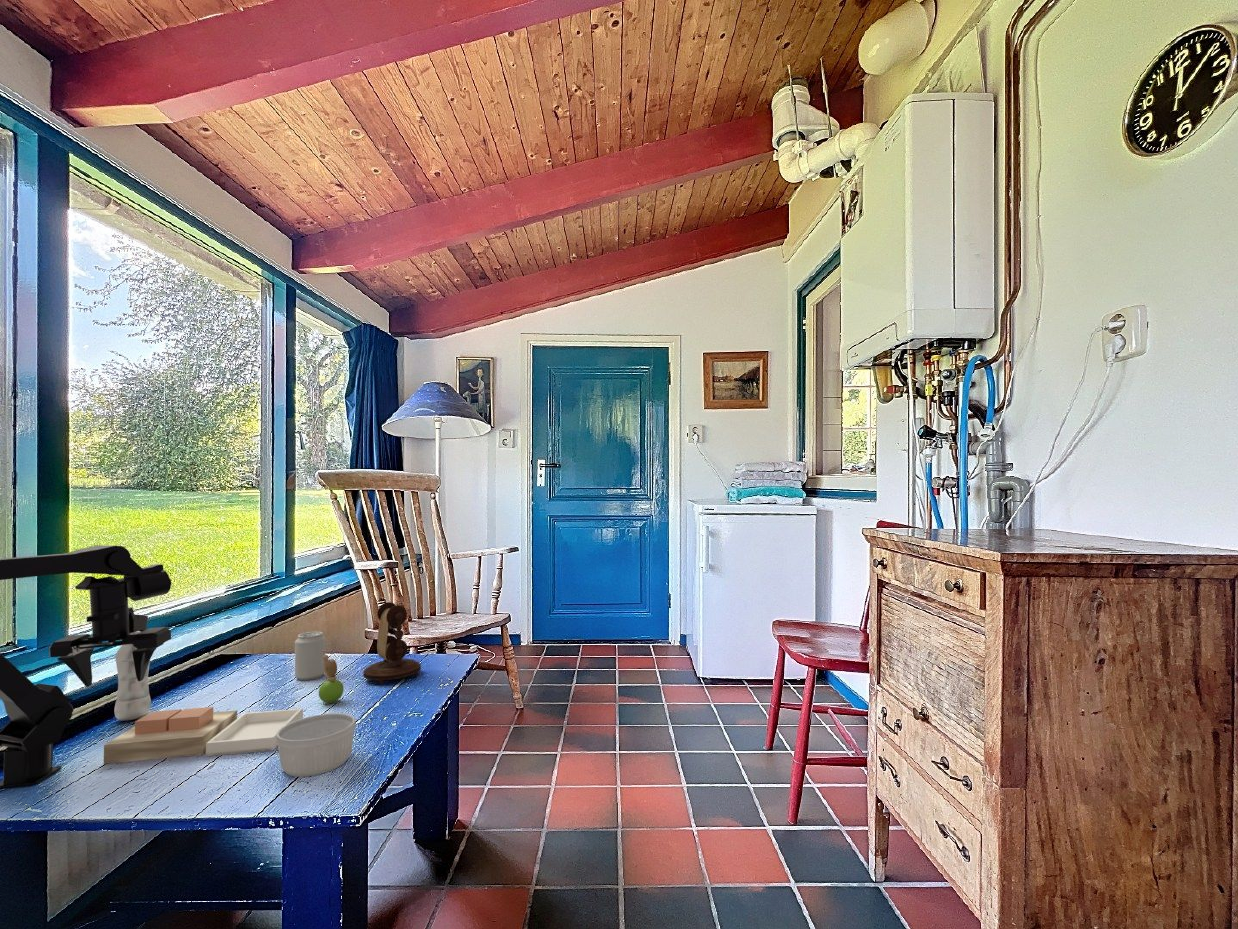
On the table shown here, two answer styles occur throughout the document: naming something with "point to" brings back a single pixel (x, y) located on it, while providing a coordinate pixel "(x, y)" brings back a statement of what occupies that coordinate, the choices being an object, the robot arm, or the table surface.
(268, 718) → the tray
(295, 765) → the ramekin
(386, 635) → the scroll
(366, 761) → the table surface
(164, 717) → the tile
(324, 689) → the green maraca
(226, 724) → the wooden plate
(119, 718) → the plastic bottle
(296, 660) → the can
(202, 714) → the tile
